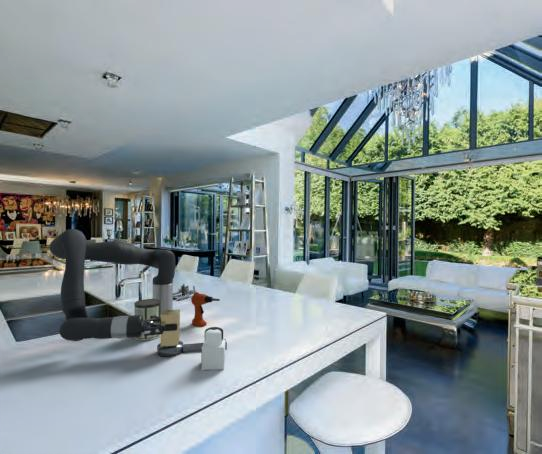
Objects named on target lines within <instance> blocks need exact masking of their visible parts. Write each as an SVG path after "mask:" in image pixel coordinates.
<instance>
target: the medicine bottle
mask: <svg viewBox="0 0 542 454" xmlns="http://www.w3.org/2000/svg"><path fill="white" fill-rule="evenodd" d="M223 339H224V329H223V328H221V327H219V326H210V327H208V328H206V329H205V330H204V340H203V342H202V343H203V346H202V351H200V352H201V362H200V363H201V364H200V367H201V371H219V370H221V371H223V370H224V369H225V364H226V350H225V342H227V340H226V341H225V340H223Z"/></svg>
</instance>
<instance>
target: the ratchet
mask: <svg viewBox="0 0 542 454" xmlns="http://www.w3.org/2000/svg"><path fill="white" fill-rule="evenodd" d="M223 340H225V341H226V342H225V351H226V350H228V347H227V346H228V345H227V344H228V343H227V338H223ZM203 343H204V342H195V343H184V342H183V341H182V340H179V345H173V346H161V342H159V343H158V344H157V345H156V355H157V356H158V357H161V358H171V357H172V356H173V357H176V355H177V356H179V355H181V354H182V353H191V352H192V353H194V351H195V352H201V351H202V346H203Z"/></svg>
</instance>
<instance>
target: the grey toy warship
mask: <svg viewBox="0 0 542 454" xmlns="http://www.w3.org/2000/svg"><path fill="white" fill-rule="evenodd" d="M196 292H198V291H197V290H196V286H195V285H193V286H192V289H190V288H189V285H186V286H185V283H182V285H181V286H180V288H178V291H175V292H173V301H174V300H176V301H178V300H179V301H181V300H185V299H186V298H188V297H190V296H191V295H192V296H193V295H194V294H195V293H196ZM180 294H181V297H174V296H175V295H180Z"/></svg>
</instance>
